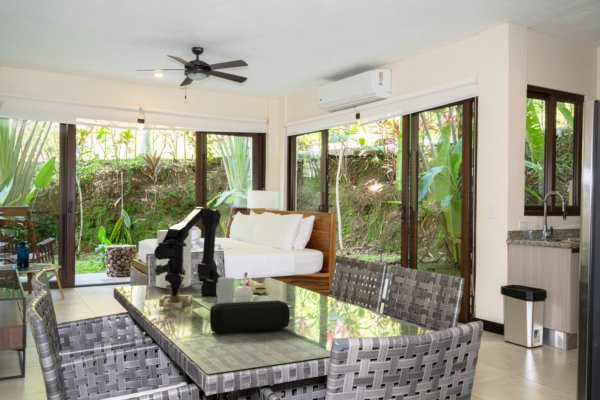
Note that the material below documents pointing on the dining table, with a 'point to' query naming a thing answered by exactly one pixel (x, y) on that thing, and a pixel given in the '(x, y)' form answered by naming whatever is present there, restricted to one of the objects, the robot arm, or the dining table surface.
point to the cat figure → (255, 285)
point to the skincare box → (225, 290)
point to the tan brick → (176, 298)
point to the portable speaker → (249, 317)
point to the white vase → (243, 293)
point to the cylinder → (186, 257)
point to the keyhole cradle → (182, 301)
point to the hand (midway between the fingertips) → (175, 295)
